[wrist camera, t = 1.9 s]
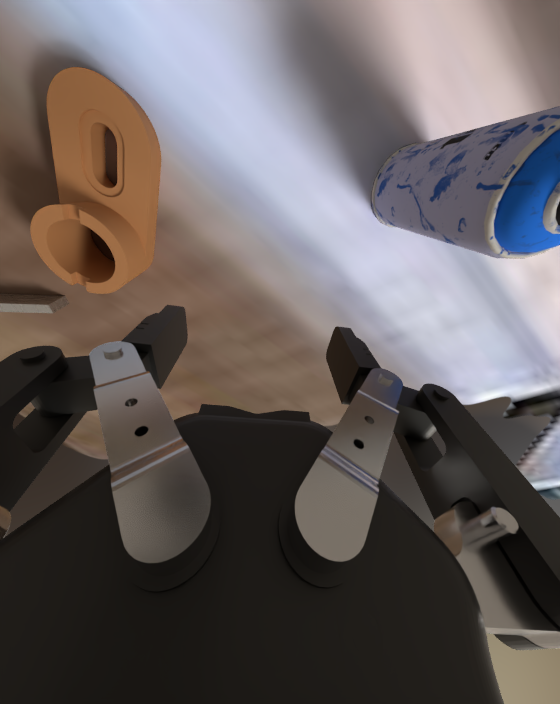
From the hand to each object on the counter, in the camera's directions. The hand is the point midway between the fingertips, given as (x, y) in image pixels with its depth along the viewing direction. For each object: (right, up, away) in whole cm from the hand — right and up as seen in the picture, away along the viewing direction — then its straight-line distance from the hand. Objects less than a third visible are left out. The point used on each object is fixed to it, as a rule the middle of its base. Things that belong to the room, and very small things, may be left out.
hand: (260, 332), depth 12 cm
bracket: (-17, +17, +13) cm, 27 cm away
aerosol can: (+16, +18, +14) cm, 28 cm away
